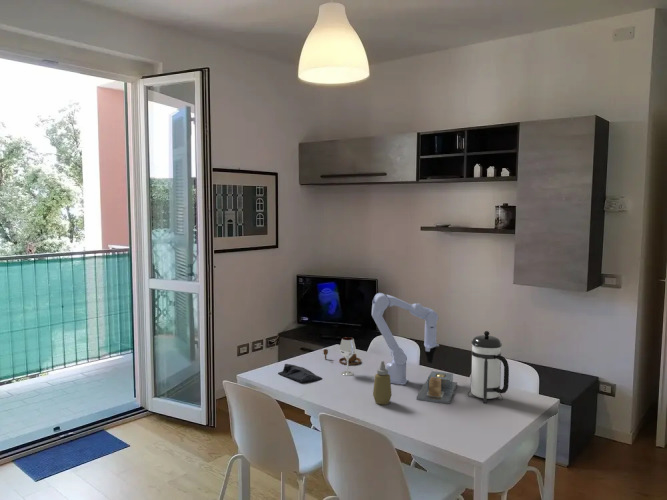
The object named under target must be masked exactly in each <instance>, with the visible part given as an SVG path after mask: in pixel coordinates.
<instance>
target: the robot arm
mask: <svg viewBox="0 0 667 500" xmlns="http://www.w3.org/2000/svg"><path fill="white" fill-rule="evenodd" d="M371 303H372V305H371V317H372V319H373V321H374V322H375V324H376V326H377V328H378V330H379V332H380V334H381V336H382V337H383V339H384V341H385V342H386V344H387V347H388V349H389V350H390V356H391V358H392V360H391V362H387V363H386V365H385V369H387V370H388V374H389V375H390V382H391V384H397V385H403V386H404V385H406V384H407V382H408V381H409V379H408V378H407V361H408V357H407V354H406V353H405V352H404V350H403V348H401V347H400V346H399V344H398V342H397V340H396V339H395V337H394V335H393V333H392V331H391V329H390V327H389V326H388V324H387V322H386V321H385V319H384V317H383V315H384V313H385V310H387V308H388V307H389V308H391V307H398V308H402V309H403V310H406V311H409V313H410V315H411V316H414V317H416V318H419V319H421V320H425V321H424V339H423V340H424V343H423V345H424V347H423V351H424V353H425V356H426V362H427V363H428V364H432V363H433V361H434V357H435V353H436V351H437V347H440V344H439V343H437V338H438V337H437V329H438V328H437V327H438V324H437V323H438V321H439V315H438V313H437V312H436V311H435V310H433V309H432V308H430V307H425V306H423V305H422V304H421V303H419V302H418V303H409V302H406V301H405V300H402V299H400V298H398V297H396V296H393V295H390V294H385V293H384V292H383V293H382V292H378V293H376V294H375V295H374V297H373V299H372V302H371Z"/></svg>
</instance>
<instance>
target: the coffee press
mask: <svg viewBox="0 0 667 500" xmlns="http://www.w3.org/2000/svg"><path fill="white" fill-rule="evenodd" d="M483 334H484V335H477V336H474V337H473V338H472V340H471V343H470V344H471V346H472V347H471V355H470V356H471V358H470V359H471V361H470V370H471V375H470V389H469V391H468V393H467V397H472V396H473V395H474V396H475V397H477V398H480V399H482V400H483V404H487V401H488V400H487V399H489V400H492V399H496V398H497V399H499V400H500V401H502V400H504V399H503V398H504V397H503V395H502V394H505V393H506V392H507V391H508V389H509V381H510V379H509V377H510V375H509V374H510V369H509V368H510V366H509V363H508V361H507V360H508V359H506V358H505V357H504V356H503V355H502V350H501V349H502V347H503V344H502V342H501V340H500V339H499V338H498V337H495V336H493V335H491V334H490V331H488V330H485V331H484V332H483ZM502 364H503V388H501V377H502V376H501V374H502V373H501V372H502V371H501V370H502V369H501V368H502ZM470 393H471V394H470ZM499 396H500V397H501V398H500V397H499Z"/></svg>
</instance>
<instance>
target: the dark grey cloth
mask: <svg viewBox="0 0 667 500" xmlns="http://www.w3.org/2000/svg"><path fill="white" fill-rule="evenodd" d="M277 374H278V375H281V376H283V377H285V378H287V379H290V380H293V381H296V382H298V383H306V382H315V381H320V380H323V378H322V377H321V376H319V375H317V374H315V373H313V371H311V370H309V369H307V368H305V367H303V366H302V367H301V366H298V365H295V364H289V363H284V367H283V369H282V370H281V371H280V372H278V373H277Z"/></svg>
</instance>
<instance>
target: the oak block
mask: <svg viewBox="0 0 667 500" xmlns="http://www.w3.org/2000/svg"><path fill="white" fill-rule="evenodd" d="M440 393H441V378H435V377H431V378H430V380H429V394H430V395H437V396H439V395H440Z"/></svg>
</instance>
